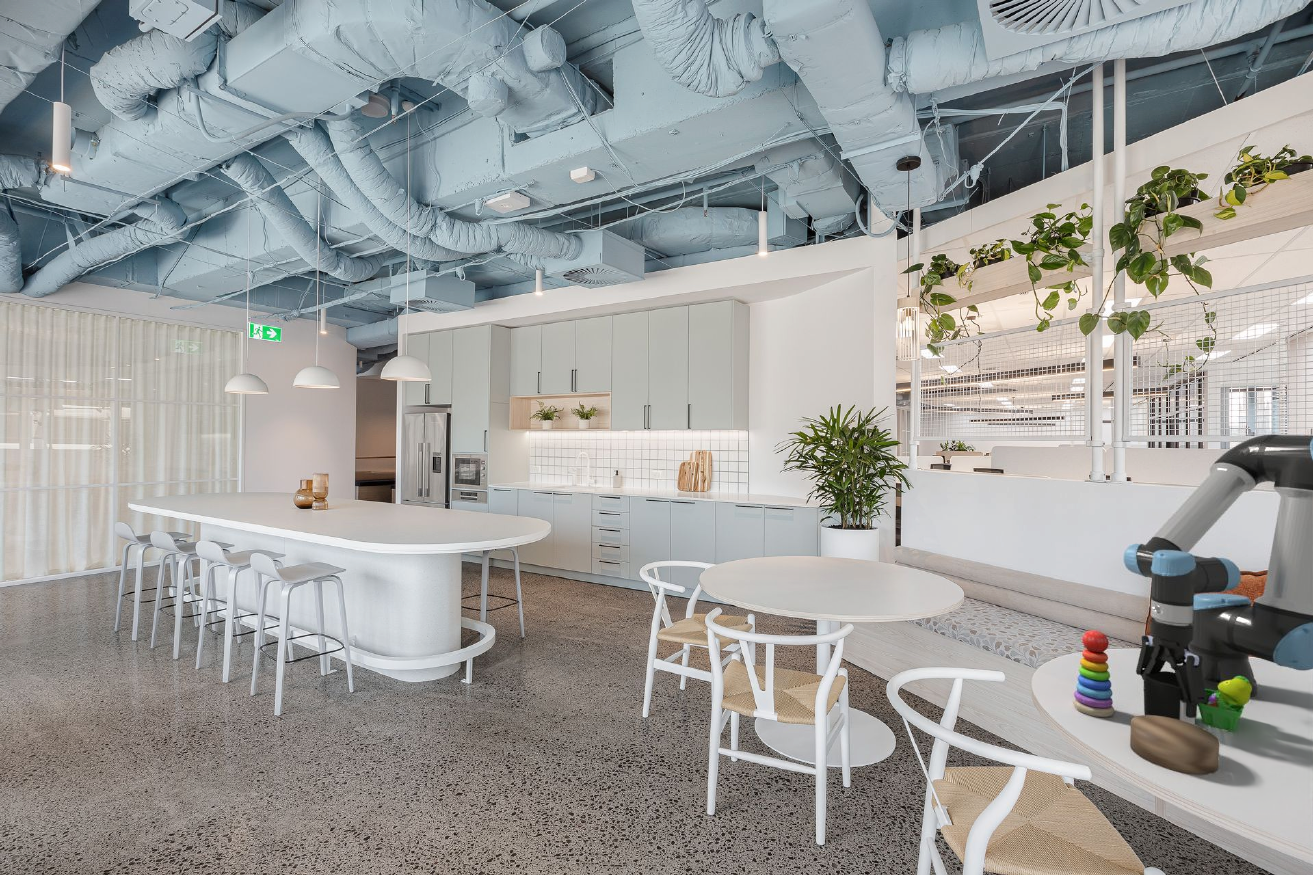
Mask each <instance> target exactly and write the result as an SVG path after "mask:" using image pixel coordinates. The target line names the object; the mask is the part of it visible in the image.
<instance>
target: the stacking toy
mask: <svg viewBox="0 0 1313 875" xmlns="http://www.w3.org/2000/svg"><path fill="white" fill-rule="evenodd" d="M1082 644H1083V646H1084V647H1085V648H1086V649H1083V651H1082V653H1081V654H1082V657H1083V658H1081V659H1080V660H1079V661H1080V662H1079V665H1081V666H1080V667H1079V668H1078V672H1079V674H1078V675H1077V681H1078V682H1077V683H1076V690H1075V691H1074V693H1073V695H1074V699H1073V701H1072V704H1073V707H1074V708H1075V709H1077V710H1078V711H1079V712H1080V713H1082V714H1084V715H1085V714H1086V715H1087V716H1092V717H1097V718H1108V717H1111V716H1113V715H1114V714H1115V709H1114V706H1113V703H1114V701H1113V699H1112V696H1113V690H1112V682H1111V680H1110V677H1111V674H1110V671H1109V667H1110V666H1109V664H1108V663H1107V661H1108V659H1109V656H1108V654H1107V653H1106V652H1105V651H1106V650H1108V647H1109V638H1108V637H1107V636H1106V635H1105V634H1104V633H1103V632H1101V631H1099V630H1095V629H1094V630H1093V629H1091V630H1087V631H1086V632H1085V633H1084V634H1083V636H1082Z"/></svg>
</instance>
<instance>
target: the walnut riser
mask: <svg viewBox="0 0 1313 875" xmlns="http://www.w3.org/2000/svg"><path fill="white" fill-rule="evenodd" d="M1129 737H1130V739H1129V741H1130V742H1129V746H1130V749H1131V751H1132V752H1133V753H1135V754H1136V755H1137V756H1138V755H1139V756H1138V757H1140V758H1142V759H1143V760H1145V761H1147V762H1149V763H1151V764H1153V765H1155V766H1158V767H1161V768H1164V769H1167V770H1171V771H1174V772H1179V773H1183V774H1188V775H1189V774H1190V775H1211V774H1215V773H1216V772H1218V770H1219V760H1220V759H1219V757H1220V741H1219V738H1218V737H1217V736H1215V735H1214V734H1213V733H1211V732H1210V731H1208V730H1207V729H1205V728H1202V727H1200V726H1198V725H1196V724H1195V725H1193V724H1191V723H1188V722H1185V721H1181V720H1177V719H1173V718H1168V717H1163V716H1154V715H1145V714H1144V715H1137V716H1134V717H1132V719H1131V720H1130V734H1129Z"/></svg>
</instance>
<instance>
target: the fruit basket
mask: <svg viewBox="0 0 1313 875" xmlns="http://www.w3.org/2000/svg"><path fill="white" fill-rule="evenodd" d="M1249 682H1250V681H1249V680H1248V679H1247V678H1245V677H1242V676H1236V677H1234V679H1232V680H1227V681H1224V682H1221V683H1220V684H1219V685H1218V689H1219V691H1218V690H1217V691H1214V690H1209V689H1205V692H1206V698H1207V703H1198V704H1197V708H1198V710H1199V714H1200V717H1201V721H1202V724H1203V725H1204V726H1206V727H1212V728H1215V729H1219V730H1223V731H1227V732H1230V733H1234V732H1235V730H1236V728H1237V724H1238V722H1239V721H1240V720H1239V719H1240V717H1242V714H1243V710H1244V708H1245V705H1247V704H1248V702H1250V698H1251V696H1250V693H1251V691H1252V686H1251V685H1250V683H1249Z"/></svg>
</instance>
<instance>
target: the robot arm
mask: <svg viewBox="0 0 1313 875" xmlns="http://www.w3.org/2000/svg"><path fill="white" fill-rule="evenodd" d="M1209 473H1210V474H1209V475H1208V476H1207V477H1206V479H1205V480H1203V482H1202V483H1201V484H1200V485H1199V486H1198V487H1197V488H1196V490H1195V491H1193V493H1192V494H1190V496H1188V498H1187V499H1186V500H1185V501H1184V502H1183V503H1182V504H1181V505H1180V506H1179V508H1178V509H1177V510H1176V511H1175V512H1174V513H1173V514H1172V516H1170V518H1168V520H1167V521H1166V522H1165V523H1164V524H1163V525H1162V527H1160V529H1159V530H1158V531H1157V532H1156V533H1154V535H1153V536H1152V537H1151V538H1150V539H1149V540H1148V542H1147V543H1146V544H1143V543H1134V544H1131V545H1129V546H1128V547H1127V548H1126V549H1125V551H1124V554H1123V563H1124V566H1125V568H1126V569H1127V570H1128V571H1130V572H1131V573H1134V574H1136V575H1139V576H1142V577H1145V578H1151V595H1150V597H1151V598H1150V616H1151V617H1152V618H1151V619H1150V620H1149V622H1150V623H1149V633H1150V635H1141V646H1140V651H1139V652H1140V653H1139V657H1138V660H1137V661H1138V662H1137V664H1136V669H1135V673H1136V674H1137V675H1138V676H1139V675H1140V676H1141V678H1142V679H1141V680H1143V681H1144V673H1147V674H1156V673H1160V671H1163V670H1162V669H1163V668H1164V665H1165V664H1166V662H1167V663H1168V664H1169V665H1170V669H1172V670H1173V671H1174V673H1175V674H1176V677H1177V680H1178V683H1179V686H1180V688H1181V689H1182V695H1183V698H1184V700H1180V720H1181V721H1185V722H1188V723H1191V724H1193V725H1196V724H1195V722H1196V721H1195V720H1196V719H1197V717H1198V706H1197V704H1198V703H1207V698H1206V692H1205V689H1209V690H1214V691H1217V690H1218V691H1219V689H1218V685H1219V684H1220V683H1221V682H1224V681H1227V680H1232V679H1234V677H1236V676H1242V677H1245V678H1247V679H1248V680H1249V681H1250V682H1249V683H1250V685H1251V686H1252V691H1251V693H1250V697H1253V696H1255V695H1257V694H1258V682H1257V680H1256V679H1255V675H1254V672H1253V669H1252V666H1251V664H1250V659H1249V656H1252V657H1255V658H1258V659H1261V660H1264V661H1266V662H1270V663H1273V664H1275V665H1277V666H1279V667H1283V668H1284V667H1285V668H1289V669H1293V670H1296V671H1310V670H1313V435H1300V434H1299V435H1298V434H1297V435H1295V434H1294V435H1293V434H1292V435H1291V434H1264V435H1258V436H1256V437H1252V438H1250V439H1246V440H1244V441H1243V442H1241V443H1239V444H1236V445H1235V446H1233V447H1231V449H1229V450H1227V452H1225V453H1223V454H1222V455H1221V456H1219V458H1217V460H1216V461H1215V462H1214V463H1213V464H1212V465H1211V466H1210V468H1209ZM1266 482H1267V483H1269V482H1271V483H1274V484H1273V490H1274V491H1276V493H1277V494H1278V495H1279V496H1280V500H1279V505H1278V512H1277V517H1276V521H1275V522H1276V524H1275V528H1274V534H1273V540H1272V546H1271V552H1270V557H1269V558H1270V559H1269V563H1268V568H1267V574H1266V580H1265V585H1264V591H1263V594H1262V595H1261V596H1259V597H1256V598H1255V599H1254V600H1253V603H1252V601H1251V598H1250V597H1248V596H1245V595H1240V594H1239V595H1238V594H1229V593H1223V592H1226V591H1233V590H1234V589H1236V588H1237V587H1238V586H1239V585H1240V583H1241V580H1242V574H1241V571H1240V569H1239V567H1238V566H1237V565H1236V563H1235V562H1234V561H1232V560H1230V559H1229V558H1226V557H1225V558H1224V557H1216V556H1212V557H1202V556H1199V555H1193V554H1192V553H1190V551H1191V550H1192V549H1193V548H1194V547H1195V546H1196V544H1198V543H1199V541H1200V540H1201V539H1202V538H1203V537H1204V536H1205V535H1206V534H1207V532H1208V531H1210V529H1211V528H1212V527H1213V526H1214V525H1215V524H1216V523H1217V522H1218V521H1219V520H1220V518H1221V517H1222V516H1223V515H1224V514H1225V513H1226V512H1227V511H1228V509H1229V508H1230V507H1231V506H1232V505H1233V504H1234V503H1235V502H1236V501H1237V500H1238V499H1239V497H1241V495H1242V494H1243V493H1245V492H1250V491H1252V490H1254V489H1255V487H1256V486H1257V485H1259V484H1261V483H1266ZM1189 695H1191V697H1189Z"/></svg>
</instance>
